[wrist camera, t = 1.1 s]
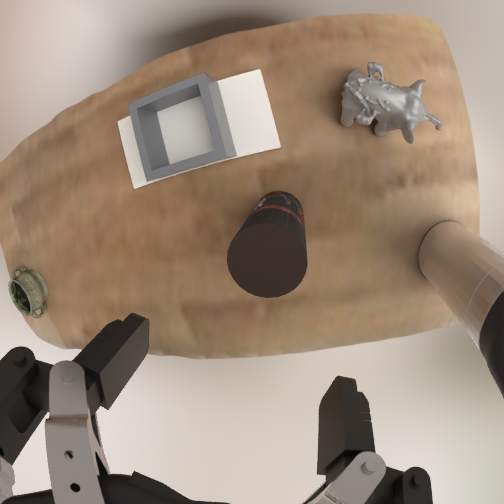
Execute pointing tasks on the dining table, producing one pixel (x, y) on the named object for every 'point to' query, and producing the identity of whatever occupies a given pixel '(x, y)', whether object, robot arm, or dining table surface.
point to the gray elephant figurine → (384, 103)
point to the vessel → (28, 292)
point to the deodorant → (270, 247)
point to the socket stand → (197, 126)
